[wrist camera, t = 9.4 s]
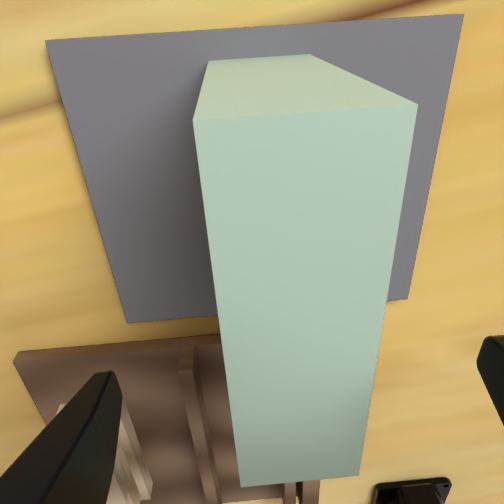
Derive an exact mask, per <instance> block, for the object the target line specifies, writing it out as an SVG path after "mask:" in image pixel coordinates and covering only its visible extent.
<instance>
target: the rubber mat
mask: <svg viewBox="0 0 504 504" xmlns="http://www.w3.org/2000/svg"><path fill="white" fill-rule="evenodd" d="M463 17H464V14H450V15H434V16H418V17H402V18H386V19H371V20H355V21H339V22H323V23H307V24H292V25H276V26H260V27H244V28H228V29H213V30H197V31H181V32H165V33H149V34H134V35H118V36H102V37H86V38H71V39H55V40H46V41H45V43H46V47H47V50H48V53H49V57H50V60H51V64H52V67H53V70H54V74H55V77H56V81H57V84H58V88H59V91H60V94H61V98H62V101H63V105H64V108H65V112H66V115H67V118H68V122H69V125H70V129H71V132H72V136H73V139H74V142H75V146H76V149H77V153H78V156H79V160H80V163H81V166H82V170H83V173H84V177H85V180H86V183H87V187H88V190H89V194H90V197H91V201H92V204H93V207H94V211H95V214H96V218H97V221H98V225H99V228H100V231H101V235H102V238H103V242H104V245H105V249H106V252H107V255H108V259H109V262H110V266H111V269H112V273H113V276H114V279H115V283H116V286H117V290H118V293H119V296H120V300H121V303H122V307H123V310H124V314H125V317H126V320H127V323H134V322H146V321H158V320H169V319H181V318H193V317H205V316H216V315H218V310H217V303H216V295H215V287H214V280H213V272H212V264H211V257H210V249H209V242H208V234H207V226H206V219H205V211H204V203H203V196H202V188H201V181H200V173H199V165H198V158H197V150H196V143H195V135H194V127H193V117H194V113H195V110H196V106H197V102H198V98H199V95H200V91H201V87H202V83H203V79H204V76H205V72H206V68H207V64H208V61H214V60H229V59H244V58H258V57H273V56H288V55H302V54H311V55H313V56H315V57H317V58H319V59H321V60H324V61H326V62H328V63H330V64H332V65H334V66H337V67H339V68H341V69H343V70H345V71H347V72H350V73H352V74H354V75H356V76H358V77H360V78H362V79H365V80H367V81H369V82H371V83H373V84H375V85H378V86H380V87H382V88H384V89H386V90H388V91H391V92H393V93H395V94H397V95H399V96H401V97H404V98H406V99H408V100H410V101H412V102H414V103H417V104H418V108H417V115H416V121H415V127H414V133H413V139H412V146H411V152H410V158H409V164H408V171H407V177H406V183H405V189H404V196H403V202H402V208H401V214H400V220H399V227H398V233H397V239H396V245H395V252H394V258H393V264H392V270H391V277H390V283H389V289H388V295H387V301H393V300H404V299H408V294H409V289H410V284H411V279H412V274H413V269H414V264H415V259H416V254H417V249H418V244H419V239H420V234H421V229H422V224H423V219H424V214H425V209H426V204H427V199H428V194H429V189H430V184H431V179H432V173H433V168H434V163H435V158H436V153H437V148H438V143H439V138H440V133H441V128H442V123H443V118H444V113H445V108H446V103H447V98H448V93H449V88H450V83H451V78H452V73H453V68H454V63H455V58H456V53H457V48H458V42H459V37H460V32H461V27H462V22H463Z"/></svg>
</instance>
